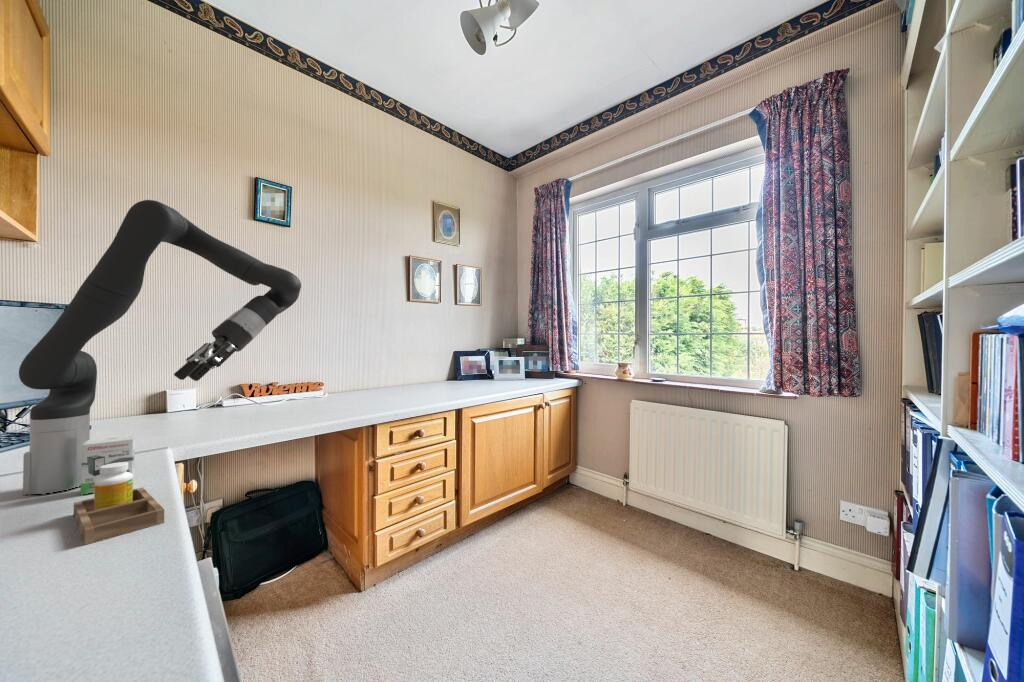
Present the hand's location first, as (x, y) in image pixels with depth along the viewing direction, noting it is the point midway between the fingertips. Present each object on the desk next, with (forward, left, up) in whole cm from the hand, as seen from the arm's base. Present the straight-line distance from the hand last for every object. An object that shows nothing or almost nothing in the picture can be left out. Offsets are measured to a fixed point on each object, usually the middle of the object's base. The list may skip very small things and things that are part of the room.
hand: (184, 378), depth 86 cm
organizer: (-7, -11, -27) cm, 29 cm away
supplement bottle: (-9, -7, -27) cm, 29 cm away
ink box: (-18, +12, -27) cm, 34 cm away
